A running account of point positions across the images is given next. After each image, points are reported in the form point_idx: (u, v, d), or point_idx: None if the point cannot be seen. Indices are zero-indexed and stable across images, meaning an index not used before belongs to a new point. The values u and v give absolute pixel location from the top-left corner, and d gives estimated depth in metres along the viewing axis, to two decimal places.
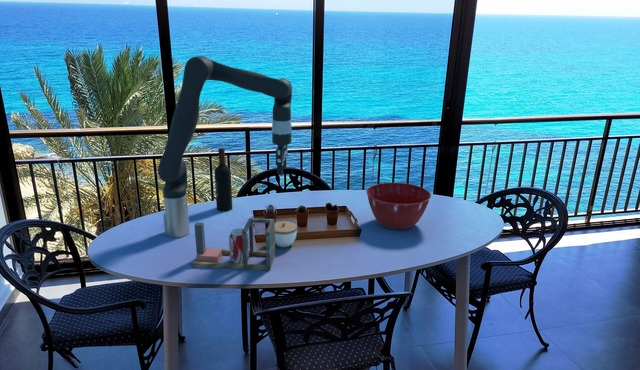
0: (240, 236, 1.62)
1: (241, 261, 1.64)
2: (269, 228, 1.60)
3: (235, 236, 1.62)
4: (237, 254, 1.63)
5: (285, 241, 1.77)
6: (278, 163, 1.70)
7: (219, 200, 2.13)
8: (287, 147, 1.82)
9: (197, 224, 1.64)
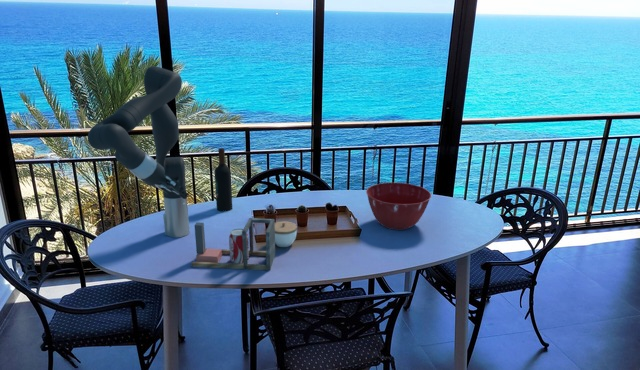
0: (240, 236, 1.62)
1: (241, 261, 1.64)
2: (269, 228, 1.60)
3: (235, 236, 1.62)
4: (237, 254, 1.63)
5: (285, 241, 1.77)
6: None
7: (219, 200, 2.13)
8: (174, 188, 1.43)
9: (197, 224, 1.64)
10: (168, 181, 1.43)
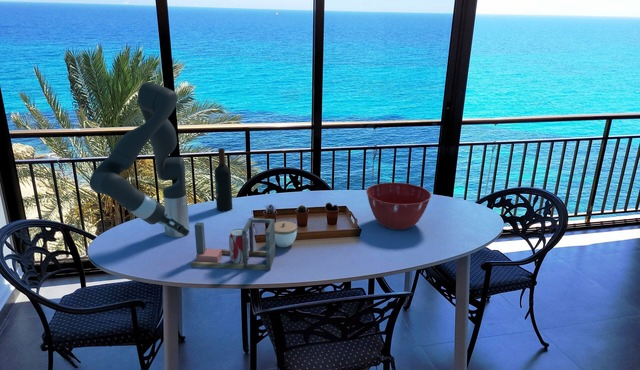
0: (240, 236, 1.62)
1: (241, 261, 1.64)
2: (269, 228, 1.60)
3: (235, 236, 1.62)
4: (237, 254, 1.63)
5: (285, 241, 1.77)
6: None
7: (219, 200, 2.13)
8: (173, 228, 1.48)
9: (197, 224, 1.64)
10: (167, 221, 1.48)
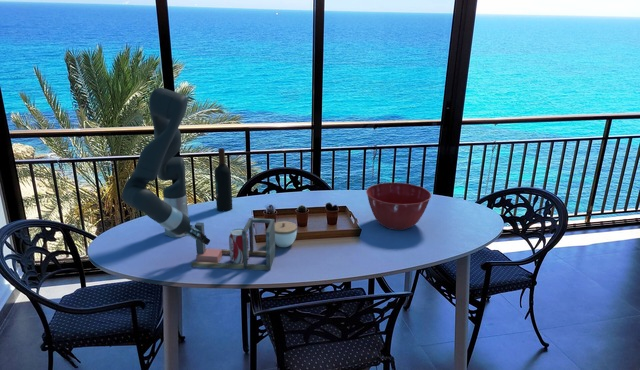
0: (240, 236, 1.62)
1: (241, 261, 1.64)
2: (269, 228, 1.60)
3: (235, 236, 1.62)
4: (237, 254, 1.63)
5: (285, 241, 1.77)
6: None
7: (219, 200, 2.13)
8: (199, 239, 1.58)
9: (197, 224, 1.64)
10: (194, 233, 1.57)
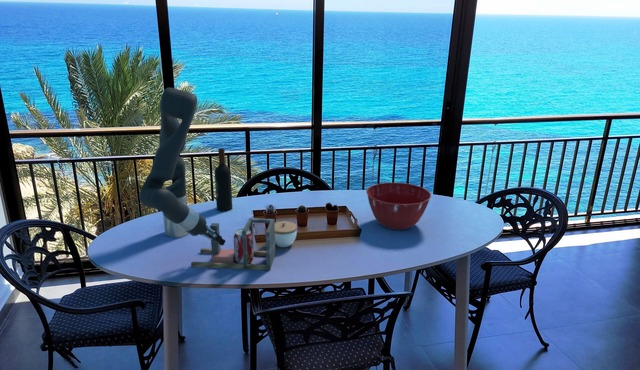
0: None
1: None
2: (269, 228, 1.60)
3: (240, 236, 1.62)
4: (242, 254, 1.63)
5: (285, 241, 1.77)
6: None
7: (219, 200, 2.13)
8: (215, 240, 1.58)
9: (212, 225, 1.63)
10: (211, 233, 1.57)
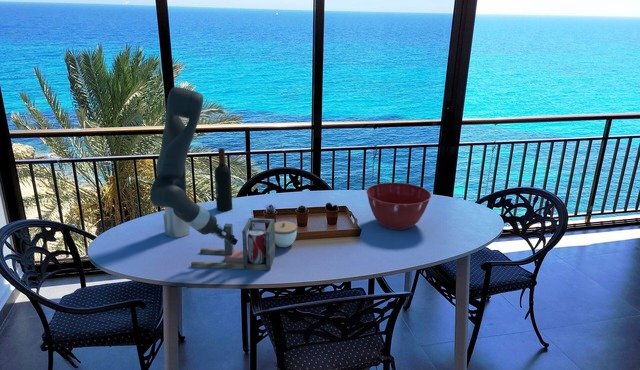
0: (260, 236, 1.62)
1: (261, 261, 1.65)
2: (269, 228, 1.60)
3: (255, 236, 1.62)
4: (257, 254, 1.63)
5: (285, 241, 1.77)
6: None
7: (219, 200, 2.13)
8: (225, 238, 1.54)
9: (226, 225, 1.63)
10: (220, 231, 1.54)
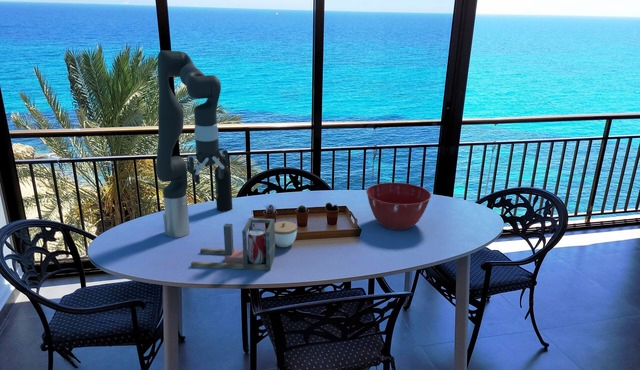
0: (260, 236, 1.62)
1: (261, 261, 1.65)
2: (269, 228, 1.60)
3: (255, 236, 1.62)
4: (257, 254, 1.63)
5: (285, 241, 1.77)
6: (188, 170, 1.49)
7: (219, 200, 2.13)
8: None
9: (226, 225, 1.63)
10: (221, 150, 1.53)
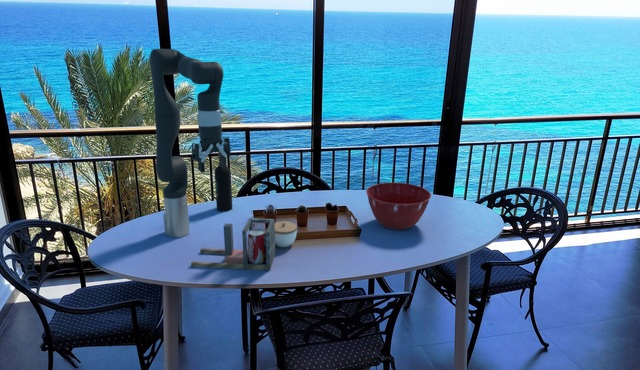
0: (260, 236, 1.62)
1: (261, 261, 1.65)
2: (269, 228, 1.60)
3: (255, 236, 1.62)
4: (257, 254, 1.63)
5: (285, 241, 1.77)
6: (194, 158, 1.48)
7: (219, 200, 2.13)
8: (229, 144, 1.57)
9: (226, 225, 1.63)
10: (223, 138, 1.55)
